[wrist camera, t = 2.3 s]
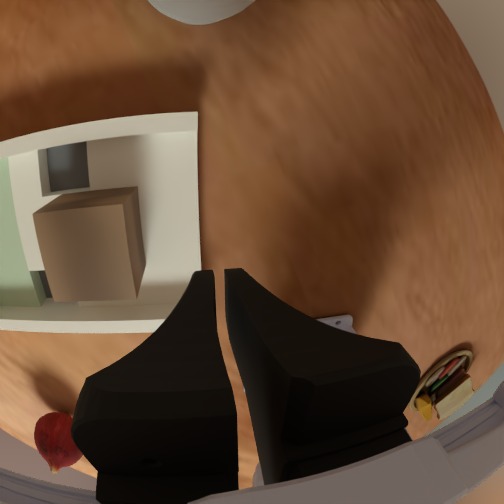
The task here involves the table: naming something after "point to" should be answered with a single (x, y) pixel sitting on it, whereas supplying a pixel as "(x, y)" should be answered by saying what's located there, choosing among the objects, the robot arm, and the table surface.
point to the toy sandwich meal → (444, 386)
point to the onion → (56, 440)
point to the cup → (200, 9)
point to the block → (92, 245)
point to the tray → (97, 178)
